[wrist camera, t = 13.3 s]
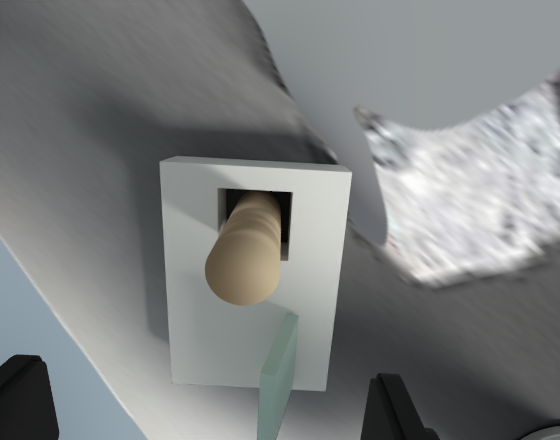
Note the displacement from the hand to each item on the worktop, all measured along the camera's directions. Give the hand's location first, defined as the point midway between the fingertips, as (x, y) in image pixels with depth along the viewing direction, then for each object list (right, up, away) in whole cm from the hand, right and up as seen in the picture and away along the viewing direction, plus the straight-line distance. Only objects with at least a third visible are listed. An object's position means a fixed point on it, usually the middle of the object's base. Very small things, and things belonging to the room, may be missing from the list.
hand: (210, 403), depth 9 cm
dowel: (0, +6, +19) cm, 20 cm away
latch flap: (+1, -7, +15) cm, 17 cm away
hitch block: (0, +1, +21) cm, 21 cm away
